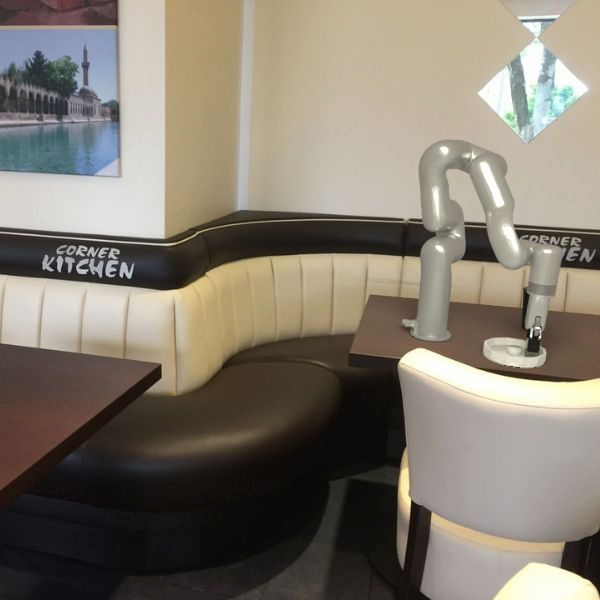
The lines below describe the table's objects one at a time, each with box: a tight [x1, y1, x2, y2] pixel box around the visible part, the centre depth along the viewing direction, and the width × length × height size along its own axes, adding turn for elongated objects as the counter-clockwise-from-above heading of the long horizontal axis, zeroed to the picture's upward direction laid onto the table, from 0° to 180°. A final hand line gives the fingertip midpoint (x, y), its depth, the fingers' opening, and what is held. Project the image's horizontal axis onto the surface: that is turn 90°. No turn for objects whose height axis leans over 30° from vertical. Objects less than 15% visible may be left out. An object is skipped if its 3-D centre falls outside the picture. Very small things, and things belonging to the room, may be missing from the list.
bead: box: [524, 338, 542, 357], centre depth 172 cm, size 4×4×5 cm
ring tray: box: [482, 336, 547, 369], centre depth 174 cm, size 17×17×3 cm
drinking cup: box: [521, 285, 530, 331], centre depth 198 cm, size 8×8×20 cm
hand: (532, 346), depth 171 cm, fingers open, 9 cm apart
